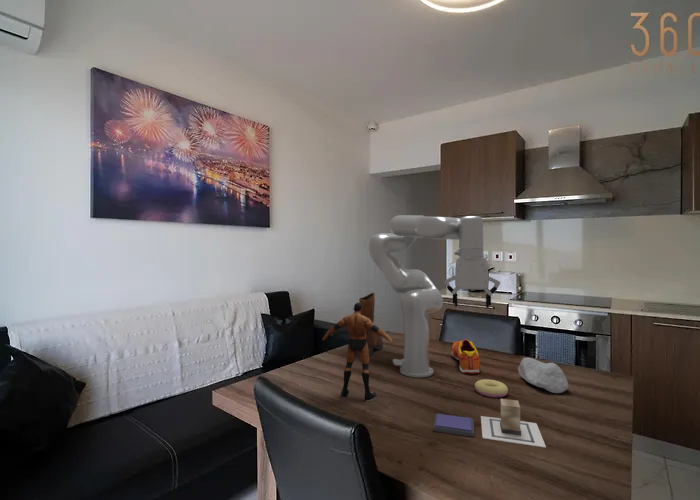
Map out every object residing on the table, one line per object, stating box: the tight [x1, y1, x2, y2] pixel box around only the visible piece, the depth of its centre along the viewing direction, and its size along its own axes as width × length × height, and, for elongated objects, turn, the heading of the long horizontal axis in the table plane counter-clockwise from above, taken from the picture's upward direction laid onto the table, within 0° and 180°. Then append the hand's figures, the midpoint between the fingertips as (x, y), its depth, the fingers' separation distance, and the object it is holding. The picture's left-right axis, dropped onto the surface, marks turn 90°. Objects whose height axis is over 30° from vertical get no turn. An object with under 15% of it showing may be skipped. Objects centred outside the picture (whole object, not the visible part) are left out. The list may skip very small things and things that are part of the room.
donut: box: [474, 378, 509, 399], centre depth 116 cm, size 10×5×9 cm
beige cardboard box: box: [500, 398, 521, 436], centre depth 91 cm, size 4×4×7 cm
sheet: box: [480, 415, 547, 449], centre depth 91 cm, size 14×12×1 cm
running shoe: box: [450, 339, 480, 375], centre depth 145 cm, size 10×28×11 cm, turn 175°
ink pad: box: [432, 413, 475, 438], centre depth 93 cm, size 10×8×1 cm
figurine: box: [322, 302, 396, 402], centre depth 113 cm, size 24×6×30 cm, turn 71°
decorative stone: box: [517, 357, 569, 394], centre depth 121 cm, size 17×10×10 cm
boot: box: [357, 292, 384, 357], centre depth 167 cm, size 25×9×27 cm, turn 152°
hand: (471, 306), depth 115 cm, fingers open, 9 cm apart
